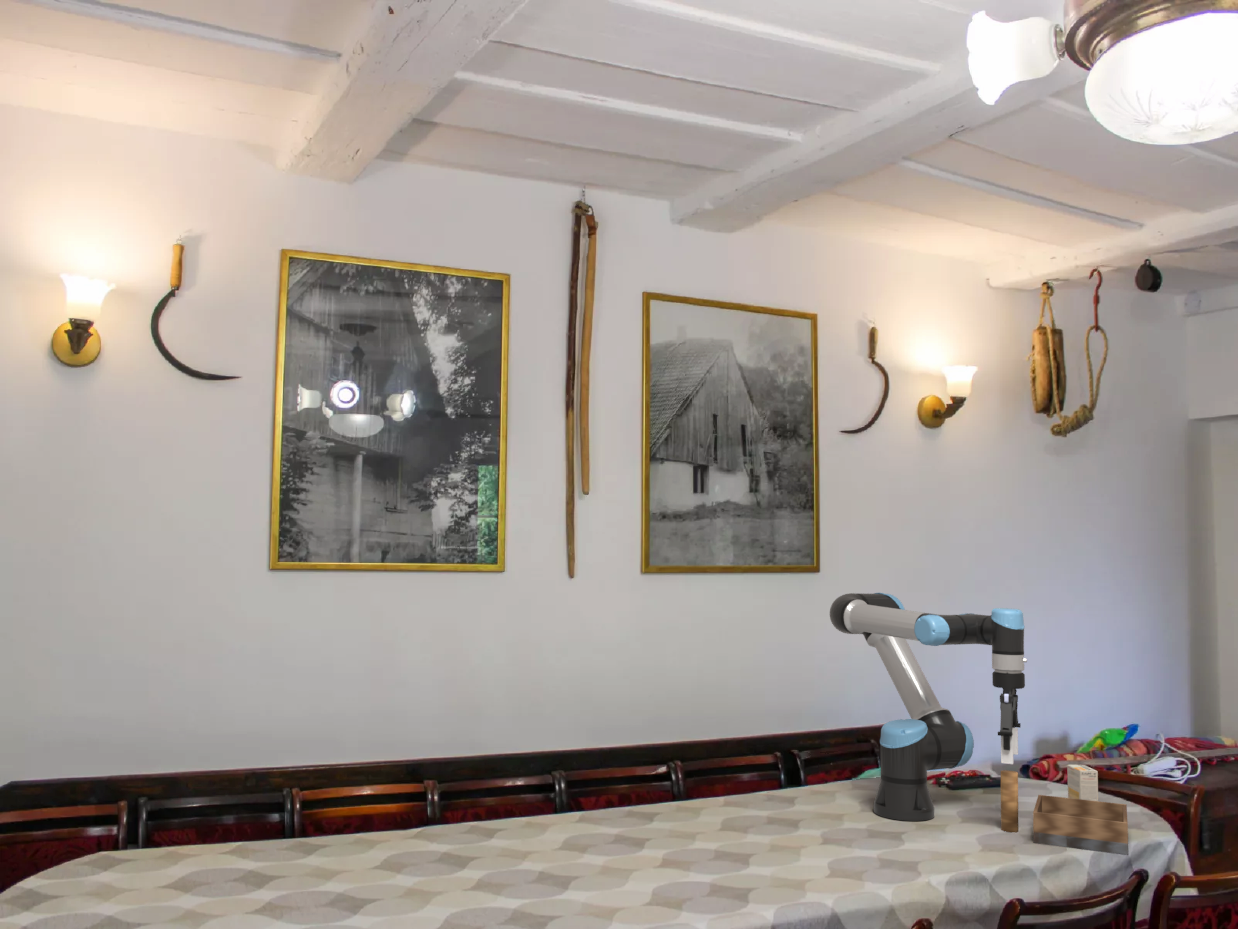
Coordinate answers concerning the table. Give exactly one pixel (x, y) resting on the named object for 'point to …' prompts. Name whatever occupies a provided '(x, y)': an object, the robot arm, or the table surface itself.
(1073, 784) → the supplement box
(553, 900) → the table surface
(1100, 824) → the box
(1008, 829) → the dowel
